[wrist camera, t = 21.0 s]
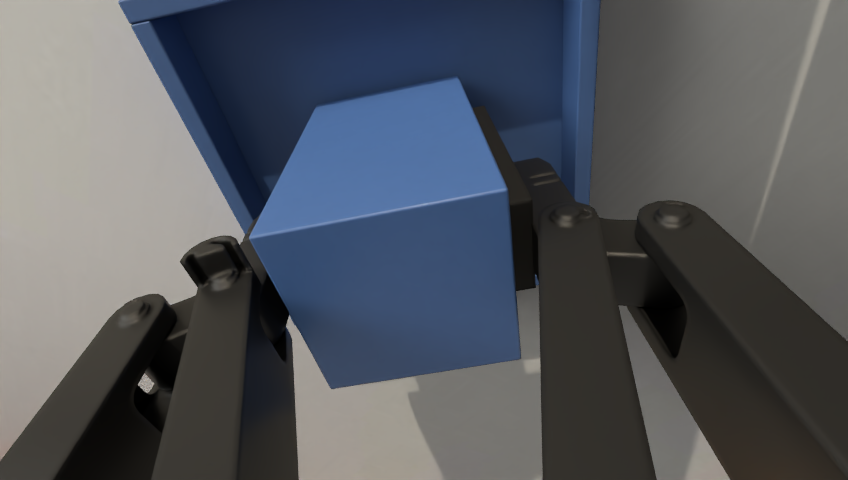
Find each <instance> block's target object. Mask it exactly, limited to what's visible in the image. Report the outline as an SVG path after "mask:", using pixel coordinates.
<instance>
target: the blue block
mask: <svg viewBox="0 0 848 480" xmlns="http://www.w3.org/2000/svg"><path fill="white" fill-rule="evenodd" d="M249 239H250V242H251V243H252V245H253V247H254V249H255V251H256V253H257V254H258V256H259V258H260V260H261V262H262V263H263V265H264V267H265V269H266V271H267V273H268V274H269V276H270V278H271V280H272V282H273V284H274V285H275V287H276V289H277V291H278V293H279V295H280V296H281V298H282V300H283V302H284V304H285V306H286V307H287V309H288V311H289V313H290V315H291V317H292V318H293V320H294V322H295V324H296V326H297V328H298V329H299V331H300V333H301V335H302V337H303V339H304V340H305V342H306V344H307V346H308V348H309V350H310V351H311V353H312V355H313V357H314V359H315V361H316V362H317V364H318V366H319V368H320V370H321V372H322V373H323V375H324V377H325V379H326V381H327V383H328V384H329V386H330V388H331V389H335V388H342V387H348V386H354V385H361V384H367V383H373V382H380V381H386V380H392V379H399V378H405V377H411V376H417V375H424V374H430V373H436V372H443V371H449V370H455V369H462V368H468V367H474V366H481V365H487V364H493V363H500V362H506V361H512V360H518V359H521V348H520V335H519V322H518V309H517V296H516V283H515V270H514V257H513V244H512V231H511V218H510V205H509V192H508V188H507V186H506V184H505V181H504V179H503V177H502V175H501V172H500V170H499V168H498V166H497V163H496V161H495V159H494V156H493V154H492V152H491V150H490V147H489V145H488V143H487V141H486V138H485V136H484V134H483V132H482V129H481V127H480V125H479V123H478V120H477V118H476V116H475V113H474V111H473V109H472V107H471V104H470V102H469V100H468V98H467V95H466V93H465V91H464V89H463V86H462V84H461V82H460V80H459V77H458V76H453V77H449V78H444V79H439V80H434V81H429V82H425V83H420V84H415V85H410V86H406V87H401V88H396V89H391V90H386V91H382V92H377V93H372V94H367V95H363V96H358V97H353V98H348V99H343V100H339V101H334V102H329V103H324V104H320V105H317V106H316V108H315V110H314V112H313V114H312V116H311V118H310V119H309V121H308V123H307V125H306V127H305V129H304V131H303V133H302V135H301V137H300V139H299V141H298V143H297V145H296V147H295V149H294V151H293V153H292V154H291V156H290V158H289V160H288V162H287V164H286V166H285V168H284V170H283V172H282V174H281V176H280V178H279V180H278V182H277V184H276V186H275V188H274V189H273V191H272V193H271V195H270V197H269V199H268V201H267V203H266V205H265V207H264V209H263V211H262V213H261V215H260V217H259V219H258V221H257V223H256V224H255V226H254V228H253V230H252V232H251V234H250V236H249Z"/></svg>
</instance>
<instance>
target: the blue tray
mask: <svg viewBox="0 0 848 480" xmlns="http://www.w3.org/2000/svg"><path fill="white" fill-rule="evenodd" d="M600 3H601V0H119V5H120V7H121V8H122V10H123V12H124V14H125V16H126V18H127V19H128V21H129V23H130V24H132V25H131V27H132V29H133V31H134V32H135V34H136V36H137V38H138V40H139V42H140V43H141V45H142V47H143V49H144V51H145V53H146V54H147V56H148V58H149V60H150V62H151V63H152V65H153V67H154V69H155V71H156V73H157V74H158V76H159V78H160V80H161V82H162V84H163V85H164V87H165V89H166V91H167V93H168V95H169V96H170V98H171V100H172V102H173V104H174V105H175V107H176V109H177V111H178V113H179V115H180V116H181V118H182V120H183V122H184V124H185V126H186V127H187V129H188V131H189V133H190V135H191V137H192V138H193V140H194V142H195V144H196V146H197V147H198V149H199V151H200V153H201V155H202V157H203V158H204V160H205V162H206V164H207V166H208V168H209V169H210V171H211V173H212V175H213V177H214V179H215V180H216V182H217V184H218V186H219V188H220V189H221V191H222V193H223V195H224V197H225V199H226V200H227V202H228V204H229V206H230V208H231V210H232V211H233V213H234V215H235V217H236V219H237V221H238V222H239V224H240V226H241V228H242V230H243V231H244V233H245V235H246V233H248V232H247V231H248V229H249V227H250V225H251V223H252V222H253V220H255V219H256V218H257V217H258V216H259V215H260V214H261V213H262V211H263V209H264V207H265V205H266V203H267V201H268V199H269V197H270V195H271V193H272V191H273V189H274V188H275V186H276V184H277V182H278V180H279V178H280V176H281V174H282V172H283V170H284V168H285V166H286V164H287V162H288V160H289V158H290V156H291V154H292V153H293V151H294V149H295V147H296V145H297V143H298V141H299V139H300V137H301V135H302V133H303V131H304V129H305V127H306V125H307V123H308V121H309V119H310V118H311V116H312V114H313V112H314V110H315V108H316V106H317V105H320V104H324V103H329V102H334V101H339V100H343V99H348V98H353V97H358V96H363V95H367V94H372V93H377V92H382V91H386V90H391V89H396V88H401V87H406V86H410V85H415V84H420V83H425V82H429V81H434V80H439V79H444V78H449V77H453V76H458V77H459V80H460V82H461V84H462V86H463V89H464V91H465V93H466V95H467V98H468V100H469V102H470V104H471V107H472V108H474V107H479V106H485V108H486V110H487V112H488V114H489V116H490V118H491V120H492V122H493V124H494V126H495V128H496V130H497V132H498V133H499V135H500V137H501V139H502V141H503V143H504V145H505V147H506V149H507V151H508V153H509V155H510V157H511V159H512V161H513V162H517V161H522V160H527V159H532V158H540V159H542V160H544V161H546V162H548V163H550V164H551V166H552V167H553V168H554V170H555V171H556V174H558V176H559V177H560V179H561V181H562V182H563V183H564V185H565V186H566V188H567V189H568V191H569V192H570V193H571V195H572V196H573V198H574V199H575V201H576V202H579V203H583V204H587V205H589V196H590V179H591V161H592V144H593V126H594V109H595V91H596V74H597V56H598V39H599V21H600ZM535 281H536V285H539V281H538V279H537V276H536V274H535ZM289 315H290V314H289ZM291 319H292V317H291ZM292 321H293V319H292ZM293 323H294V321H293ZM294 325H295V323H294Z"/></svg>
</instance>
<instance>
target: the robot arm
mask: <svg viewBox="0 0 848 480" xmlns="http://www.w3.org/2000/svg"><path fill="white" fill-rule="evenodd" d="M472 109H473V111H474V113H475V116H476V118H477V120H478V123H479V125H480V127H481V129H482V132H483V134H484V136H485V138H486V141H487V143H488V145H489V147H490V150H491V152H492V154H493V156H494V159H495V161H496V163H497V166H498V168H499V170H500V172H501V175H502V177H503V179H504V181H505V184H506V186H507V188H508V192H509V205H510V218H511V231H512V244H513V257H514V270H515V283H516V291H519V290H525V289H531V288H536V281H535V274H536V276H537V279H538V281H539V311H540V362H541V413H542V464H543V480H657V479H656V475H655V470H654V466H653V461H652V456H651V452H650V447H649V443H648V438H647V434H646V429H645V425H644V420H643V416H642V411H641V407H640V402H639V397H638V393H637V388H636V384H635V379H634V375H633V370H632V366H631V361H630V357H629V352H628V348H627V343H626V338H625V334H624V329H623V325H622V320H621V316H620V311H619V307H618V305H623V306H627V308H628V310H629V312H630V313H631V315H632V317H633V318H634V320H635V322H636V323H637V325H638V327H639V328H640V330H641V332H642V333H643V335H644V337H645V338H646V340H647V342H648V343H649V345H650V347H651V348H652V350H653V352H654V353H655V355H656V357H657V358H658V360H659V362H660V363H661V365H662V367H663V368H664V370H665V372H666V373H667V375H668V377H669V378H670V380H671V382H672V383H673V385H674V387H675V388H676V390H677V392H678V393H679V395H680V396H681V398H682V400H683V401H684V403H685V405H686V406H687V408H688V410H689V411H690V413H691V415H692V416H693V418H694V420H695V421H696V423H697V425H698V426H699V428H700V430H701V431H702V433H703V435H704V436H705V438H706V440H707V441H708V443H709V445H710V446H711V448H712V450H713V451H714V453H715V455H716V456H717V458H718V460H719V461H720V463H721V465H722V466H723V468H724V470H725V471H726V473H727V475H728V476H729V478H730V480H848V341H846V340H845V339H844V338H843V337H842V336H841V335H840V334H839V333H838V332H836V331H835V330H834V329H833V328H832V327H831V326H830V325H829V324H828V323H827V322H825V321H824V320H823V319H822V318H821V317H820V316H819V315H818V314H817V313H816V312H814V311H813V310H812V309H811V308H810V307H809V306H808V305H807V304H806V303H805V302H803V301H802V300H801V299H800V298H799V297H798V296H797V295H796V294H795V293H794V292H792V291H791V290H790V289H789V288H788V287H787V286H786V285H785V284H784V283H782V282H781V281H780V280H779V279H778V278H777V277H776V276H775V275H774V274H773V273H771V272H770V271H769V270H768V269H767V268H766V267H765V266H764V265H763V264H762V263H760V262H759V261H758V260H757V259H756V258H755V257H754V256H753V255H752V254H751V253H749V252H748V251H747V250H746V249H745V248H744V247H743V246H742V245H741V244H740V243H738V242H737V241H736V240H735V239H734V238H733V237H732V236H731V235H730V234H728V233H727V232H726V231H725V230H724V229H723V228H722V227H721V226H720V225H719V224H717V223H716V222H715V221H714V220H713V219H712V218H711V217H710V216H709V215H708V214H706V213H705V212H704V211H702V210H701V209H699V208H698V207H696V206H694V205H690V204H687V203H684V202H679V201H657V202H653V203H650V204H647V205H645V206H644V207H643V208H641V209H640V210H639V213H638V216H637V220H610V219H603V218H599V216H598V214H597V212H596V211H595V209H593V208H592V207H590V206H589V205H587V204H583V203H579V202H576V201H575V199H574V198H573V196H572V195H571V193H570V192H569V191H568V189H567V188H566V186H565V185H564V183H563V182H562V181H561V179H560V177H559V176H558V174H556V171H555V170H554V168H553V167H552V166H551V164H550V163H548V162H546V161H544V160H542V159H540V158H532V159H527V160H522V161H517V162H513V161H512V159H511V157H510V155H509V153H508V151H507V149H506V147H505V145H504V143H503V141H502V139H501V137H500V135H499V133H498V132H497V130H496V128H495V126H494V124H493V122H492V120H491V118H490V116H489V114H488V112H487V110H486V108H485V106H479V107H474V108H472ZM260 215H261V214H260ZM260 215H259V216H258V217H257V218H256V219H255V220H253V222H252V223H251V225H250V227H249V229H248V231H247V232H248V233H246V235H245V237H244V239H243V242H241V244H240V245H239V243H238V242H237V240H236V238H234V237H232V236H219V237H214V238H211V239H208V240H206V241H203V242H201V243H199V244H198V245H196V246H194V247H193V248H191V249H190V250H189V251H188V252H187V253H186V254H185V255H184V256H183V258H182V259H181V261H180V263H181V264H182V265H183V267H184V268H185V270H186V271H187V273H188V274H189V276H190V277H191V278H192V280H193V281H194V283H195V284H196V286H197V287H198V290H197V294H196V296H194V297H191V298H188V299H186V300H183V301H181V302H178V303H175V304H173V305H170V304H169V303H168V302H167V301H166V299H165V298H164V297H163V296H161V295H159V294H148V295H145V296H142V297H138V298H135V299H133V301H132V300H131V301H129V302H127V303H126V304H125V305H124V306H123V307H121V308H120V309H118V310H117V311H116V312H115V313H114V314H113V315H112V316H111V317H110V318H109V319H108V321H107V322H106V323H105V325H104V326H103V327H102V329H101V330H100V331H99V332H98V334H97V335H96V336H95V338H94V339H93V340H92V342H91V343H90V344H89V346H88V347H87V348H86V350H85V351H84V352H83V353H82V355H81V356H80V357H79V359H78V360H77V361H76V363H75V364H74V365H73V367H72V368H71V369H70V371H69V372H68V373H67V374H66V376H65V377H64V378H63V380H62V381H61V382H60V384H59V385H58V386H57V388H56V389H55V390H54V392H53V393H52V394H51V395H50V397H49V398H48V399H47V401H46V402H45V403H44V405H43V406H42V407H41V409H40V410H39V411H38V412H37V414H36V415H35V416H34V418H33V419H32V420H31V422H30V423H29V424H28V426H27V427H26V428H25V430H24V431H23V432H22V433H21V435H20V436H19V437H18V439H17V440H16V441H15V443H14V444H13V445H12V447H11V448H10V449H9V451H8V452H7V453H6V454H5V456H4V457H3V458H2V460H1V461H0V480H299V478H298V456H297V435H296V414H295V393H294V371H293V350H292V338H291V335H290V333H289V331H288V329H287V328H286V324H287V320H288V317H289V314H290V313H289V311H288V309H287V307H286V306H285V304H284V302H283V300H282V298H281V296H280V295H279V293H278V291H277V289H276V287H275V285H274V284H273V282H272V280H271V278H270V276H269V274H268V273H267V271H266V269H265V267H264V265H263V263H262V262H261V260H260V258H259V256H258V254H257V253H256V251H255V249H254V247H253V245H252V243H251V242H250V239H249V236H250V234H251V232H252V230H253V228H254V226H255V224H256V223H257V221H258V219H259V217H260ZM290 316H291V315H290ZM292 319H293V318H292ZM293 321H294V320H293ZM294 323H295V322H294ZM295 325H296V324H295ZM296 327H297V326H296ZM144 373H145V374H146V375H147V376H148V377H149V378H150V379H151V380H152V381H153V382H154V383H155V384H154V386H153V388H152V389H151V390H150V392H149V393H146V392H144V391H143V390H142V389H141V388H140V387H139V386H138V383H139V381H140V380H141V378H142V376H143V375H144Z"/></svg>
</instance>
